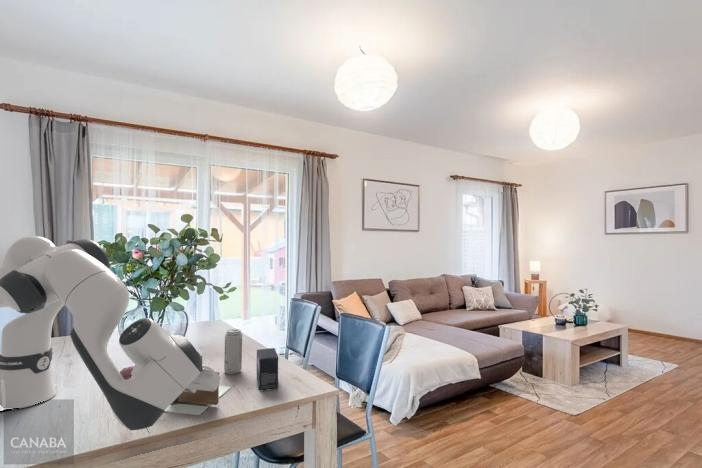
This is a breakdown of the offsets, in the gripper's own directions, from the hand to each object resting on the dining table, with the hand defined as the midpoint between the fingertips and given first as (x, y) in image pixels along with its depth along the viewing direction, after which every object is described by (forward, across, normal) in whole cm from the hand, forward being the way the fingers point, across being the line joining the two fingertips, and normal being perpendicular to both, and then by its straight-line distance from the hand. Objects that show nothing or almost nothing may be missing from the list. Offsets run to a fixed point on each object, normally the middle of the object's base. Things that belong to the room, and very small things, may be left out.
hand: (191, 389), depth 100 cm
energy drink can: (+31, +7, -19) cm, 37 cm away
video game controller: (+18, +33, -6) cm, 38 cm away
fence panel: (+11, +4, -1) cm, 12 cm away
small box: (+26, -9, -14) cm, 31 cm away
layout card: (+15, +12, -3) cm, 19 cm away
